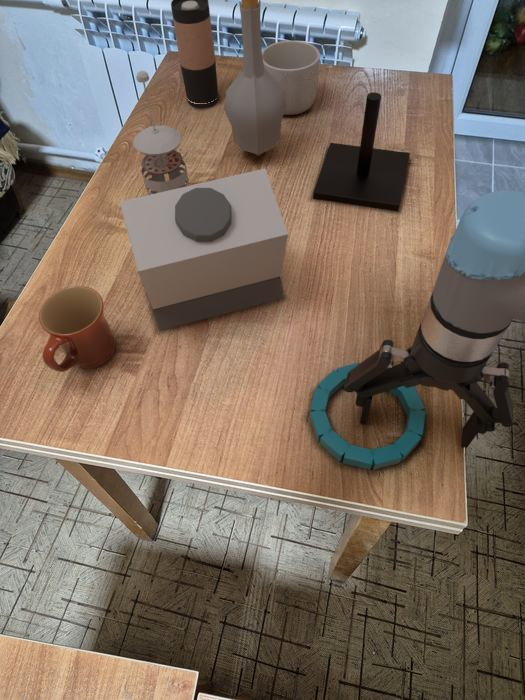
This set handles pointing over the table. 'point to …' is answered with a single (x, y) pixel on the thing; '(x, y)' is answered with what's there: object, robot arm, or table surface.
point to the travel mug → (196, 50)
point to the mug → (76, 329)
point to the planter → (294, 72)
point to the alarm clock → (208, 247)
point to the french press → (160, 154)
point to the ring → (358, 454)
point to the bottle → (254, 91)
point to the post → (363, 169)
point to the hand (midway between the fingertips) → (413, 426)
